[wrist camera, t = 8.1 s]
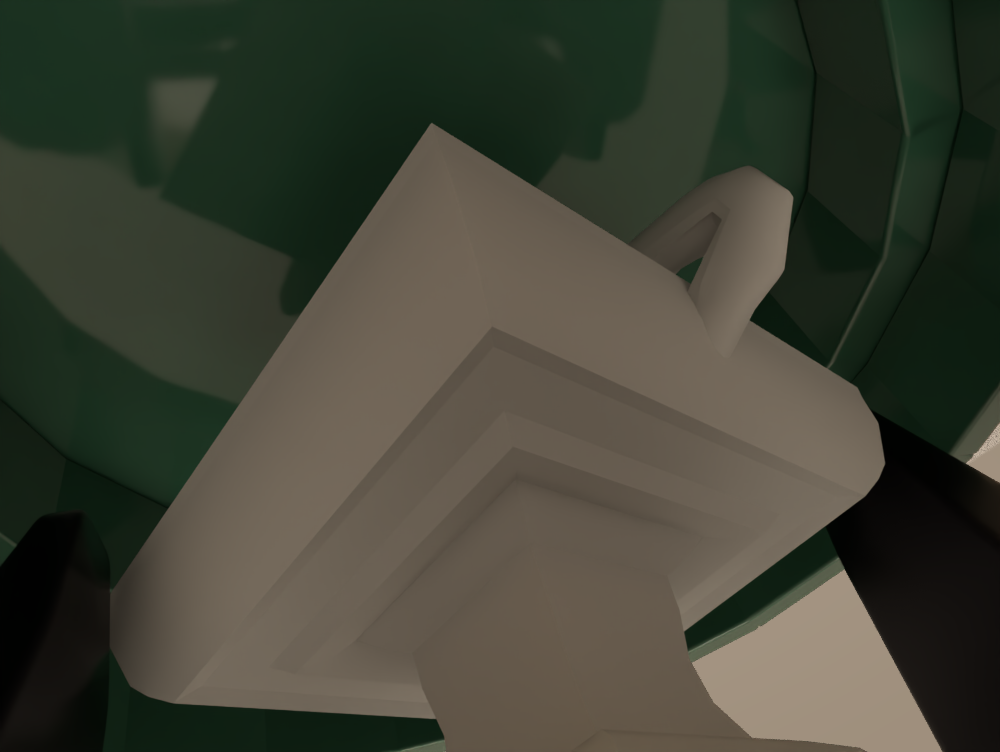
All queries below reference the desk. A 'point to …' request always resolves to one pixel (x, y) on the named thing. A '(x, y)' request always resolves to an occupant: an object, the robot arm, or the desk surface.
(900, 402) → the green bowl
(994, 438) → the desk surface
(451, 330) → the stamp
